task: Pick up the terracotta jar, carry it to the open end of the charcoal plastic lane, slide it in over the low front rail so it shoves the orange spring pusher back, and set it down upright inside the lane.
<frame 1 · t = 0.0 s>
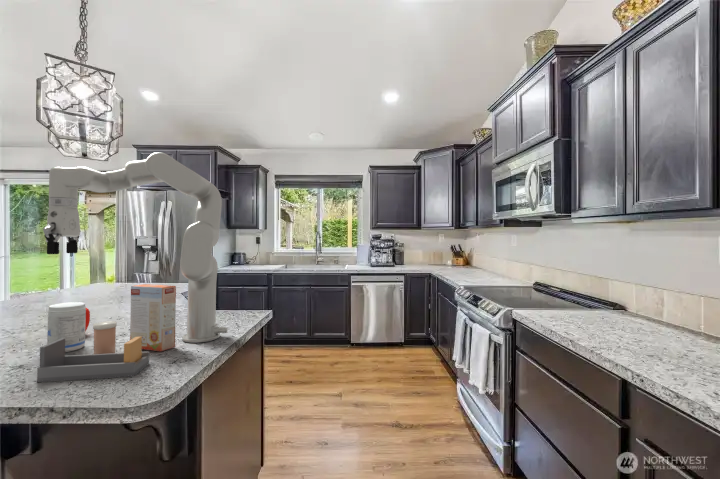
hand: (62, 253, 118), 31 cm above the countertop, tool pointing down, fingers open, 9 cm apart
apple: (75, 336, 128), on the countertop
supplement tub: (66, 349, 112), on the countertop
lane pusher: (133, 352, 94), point 5 cm above the countertop, slide at 0.0 cm
pusher lane: (97, 372, 93), on the countertop
cracker box: (152, 348, 114), on the countertop
terracotta jar: (104, 356, 106), on the countertop
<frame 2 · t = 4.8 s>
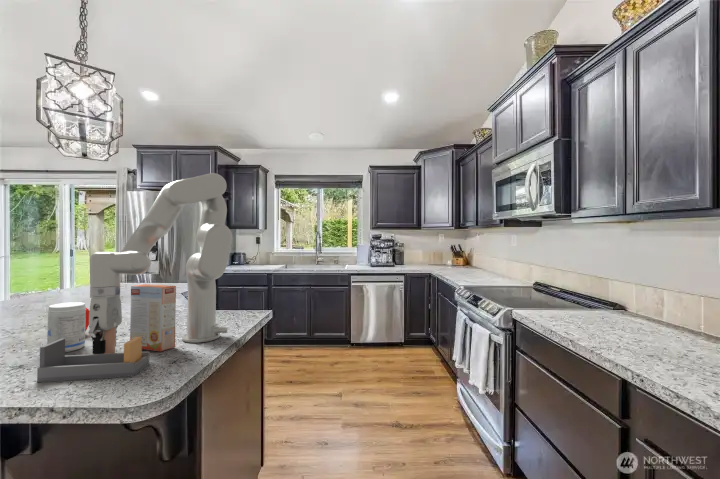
hand: (104, 349, 106), 2 cm above the countertop, tool pointing down, fingers closed on terracotta jar, 5 cm apart
terracotta jar: (104, 356, 106), on the countertop, touching gripper
everything else where it was.
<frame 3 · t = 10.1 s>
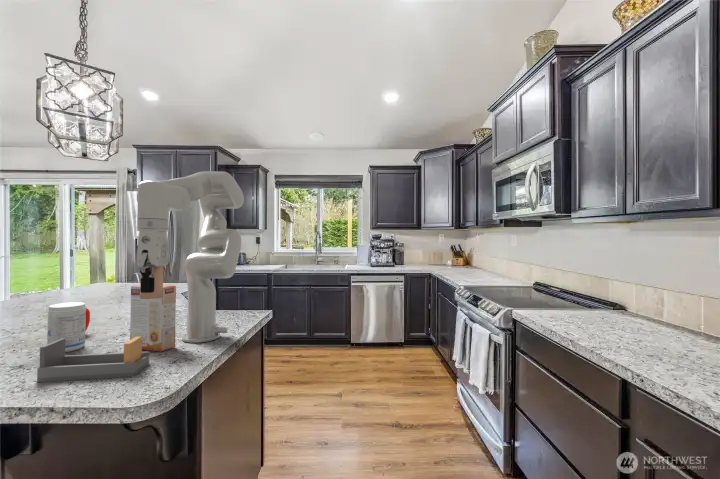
hand: (152, 290, 95), 22 cm above the countertop, tool pointing down, fingers closed on terracotta jar, 5 cm apart
terracotta jar: (151, 297, 95), point 20 cm above the countertop, touching gripper
everything else where it was.
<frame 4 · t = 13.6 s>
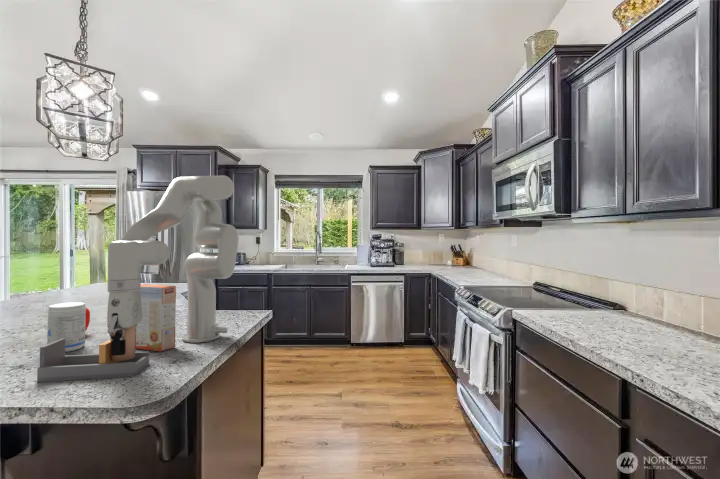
hand: (123, 350, 94), 5 cm above the countertop, tool pointing down, fingers closed on terracotta jar, 5 cm apart
lane pusher: (109, 353, 93), point 5 cm above the countertop, slide at 5.9 cm, touching terracotta jar
terracotta jar: (123, 357, 94), point 3 cm above the countertop, touching gripper, lane pusher
everything else where it was.
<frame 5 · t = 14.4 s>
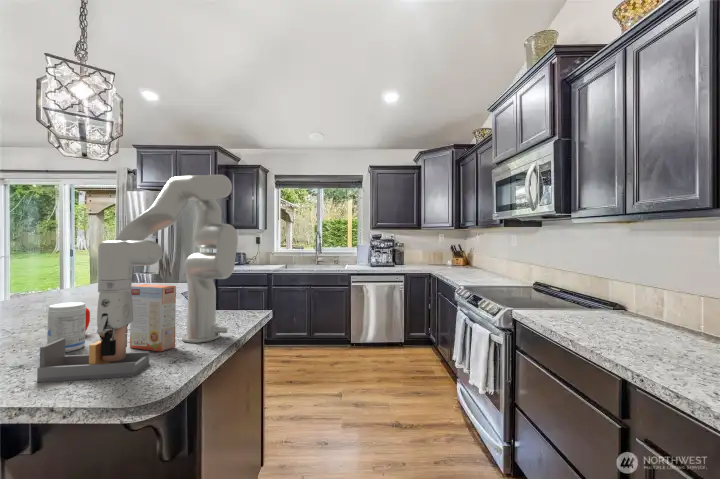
hand: (114, 351, 94), 5 cm above the countertop, tool pointing down, fingers closed on terracotta jar, 5 cm apart
lane pusher: (99, 354, 93), point 5 cm above the countertop, slide at 8.2 cm, touching terracotta jar
terracotta jar: (114, 358, 94), point 3 cm above the countertop, touching gripper, lane pusher
everything else where it was.
when the fingers open (4 cm above the countertop, at t = 15.3 s): terracotta jar drops 1 cm, resting on pusher lane.
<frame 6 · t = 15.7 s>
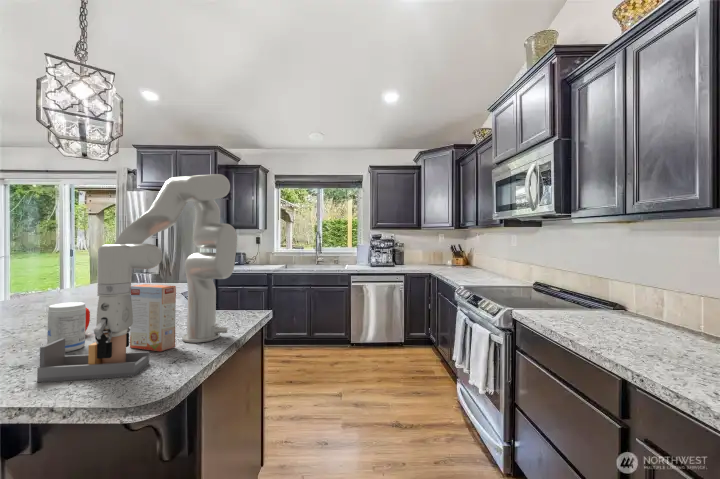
hand: (113, 352, 94), 5 cm above the countertop, tool pointing down, fingers open, 9 cm apart
lane pusher: (99, 354, 93), point 5 cm above the countertop, slide at 8.4 cm
terracotta jar: (114, 367, 94), point 1 cm above the countertop, touching pusher lane
everything else where it was.
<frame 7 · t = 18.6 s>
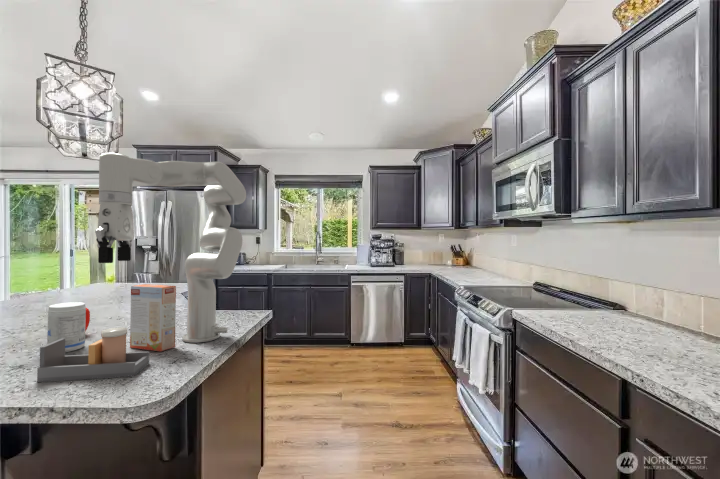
hand: (115, 261, 94), 30 cm above the countertop, tool pointing down, fingers open, 9 cm apart
nothing on the countertop moved.
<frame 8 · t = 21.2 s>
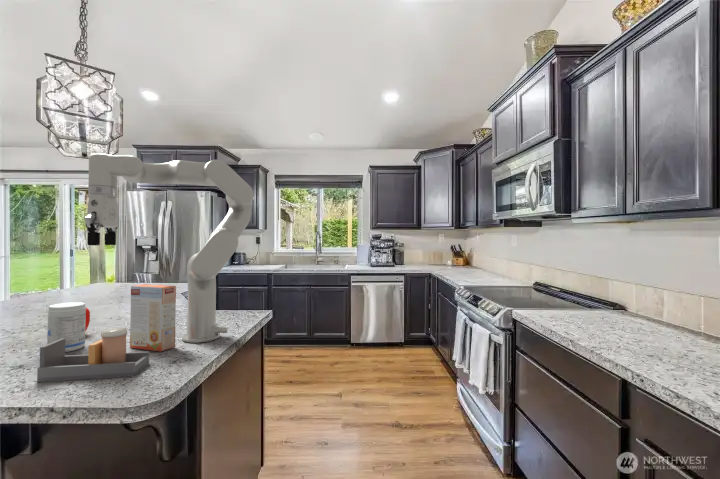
hand: (102, 245, 111), 34 cm above the countertop, tool pointing down, fingers open, 9 cm apart
nothing on the countertop moved.
at the end: terracotta jar 0.2 cm from the target spot on the pusher lane, point 1.0 cm above the pusher lane's base; lane pusher slide at 8.4 cm; terracotta jar tilted 0° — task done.
